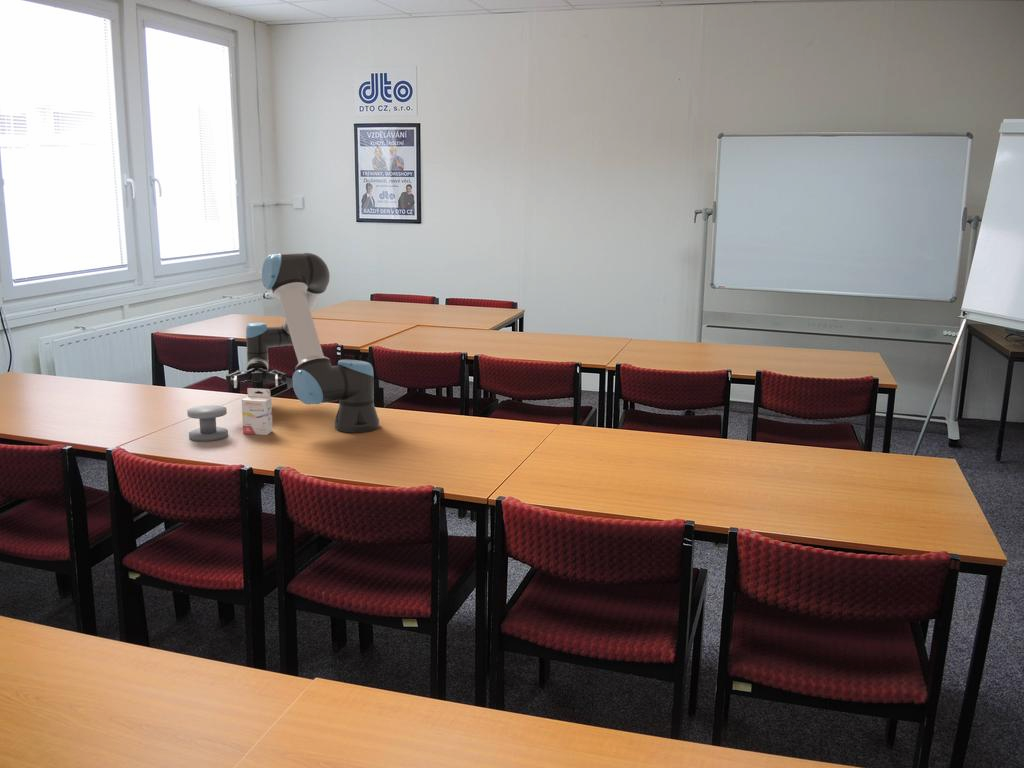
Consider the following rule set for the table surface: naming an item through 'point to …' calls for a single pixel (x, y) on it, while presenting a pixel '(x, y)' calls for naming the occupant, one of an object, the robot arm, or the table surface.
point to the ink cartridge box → (257, 412)
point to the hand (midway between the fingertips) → (255, 383)
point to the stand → (207, 423)
